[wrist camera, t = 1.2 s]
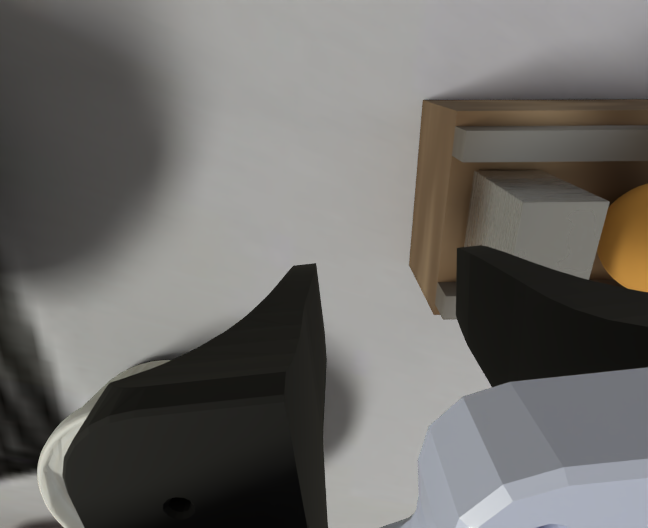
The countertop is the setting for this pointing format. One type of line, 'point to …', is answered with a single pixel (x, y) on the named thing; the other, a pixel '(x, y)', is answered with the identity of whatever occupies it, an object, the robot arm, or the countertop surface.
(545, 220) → the plunger
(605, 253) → the ball
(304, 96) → the countertop surface
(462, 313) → the robot arm
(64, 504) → the ramekin
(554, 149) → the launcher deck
